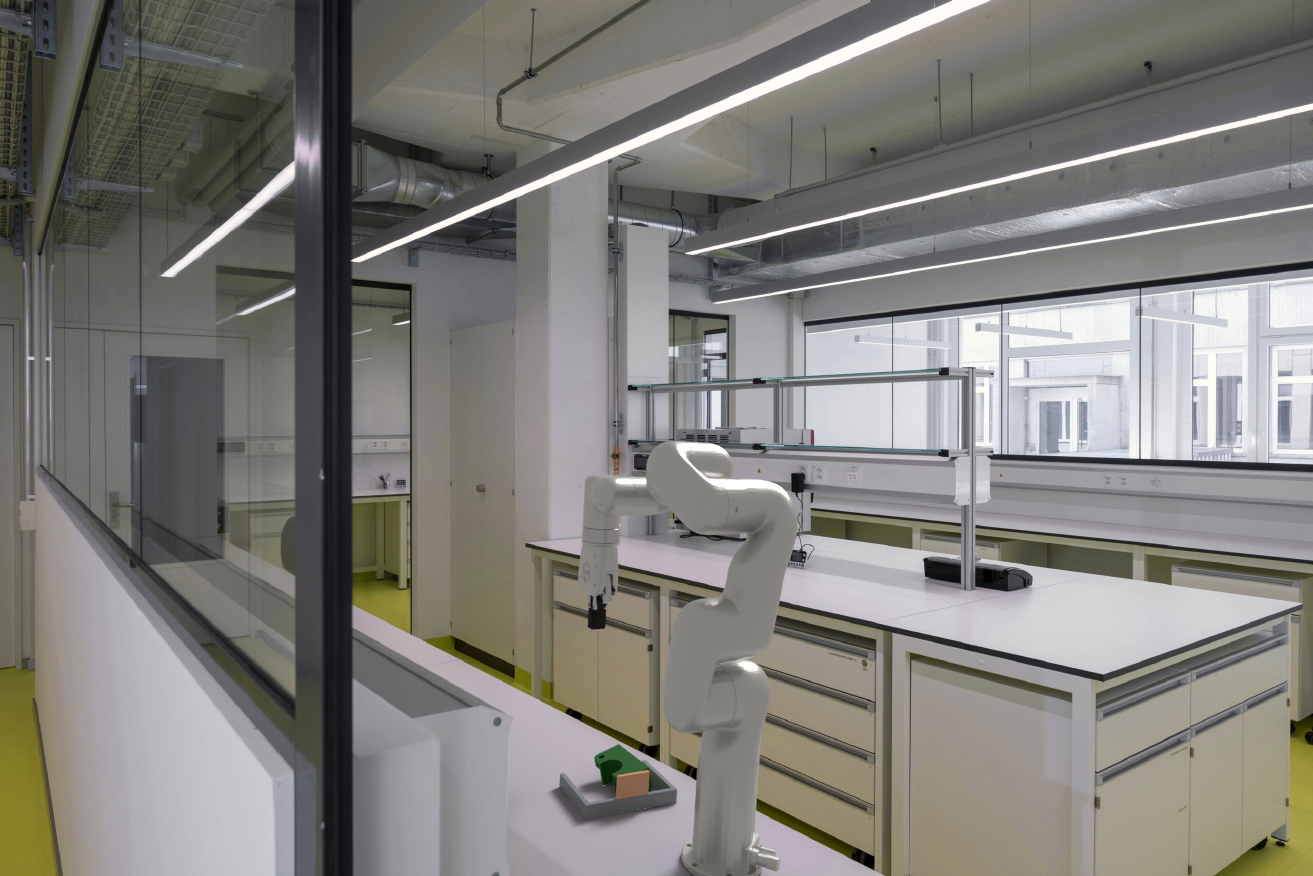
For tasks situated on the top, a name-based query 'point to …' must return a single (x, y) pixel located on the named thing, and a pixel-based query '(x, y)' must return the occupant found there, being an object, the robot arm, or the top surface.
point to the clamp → (618, 765)
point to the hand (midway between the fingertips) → (596, 628)
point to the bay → (623, 794)
